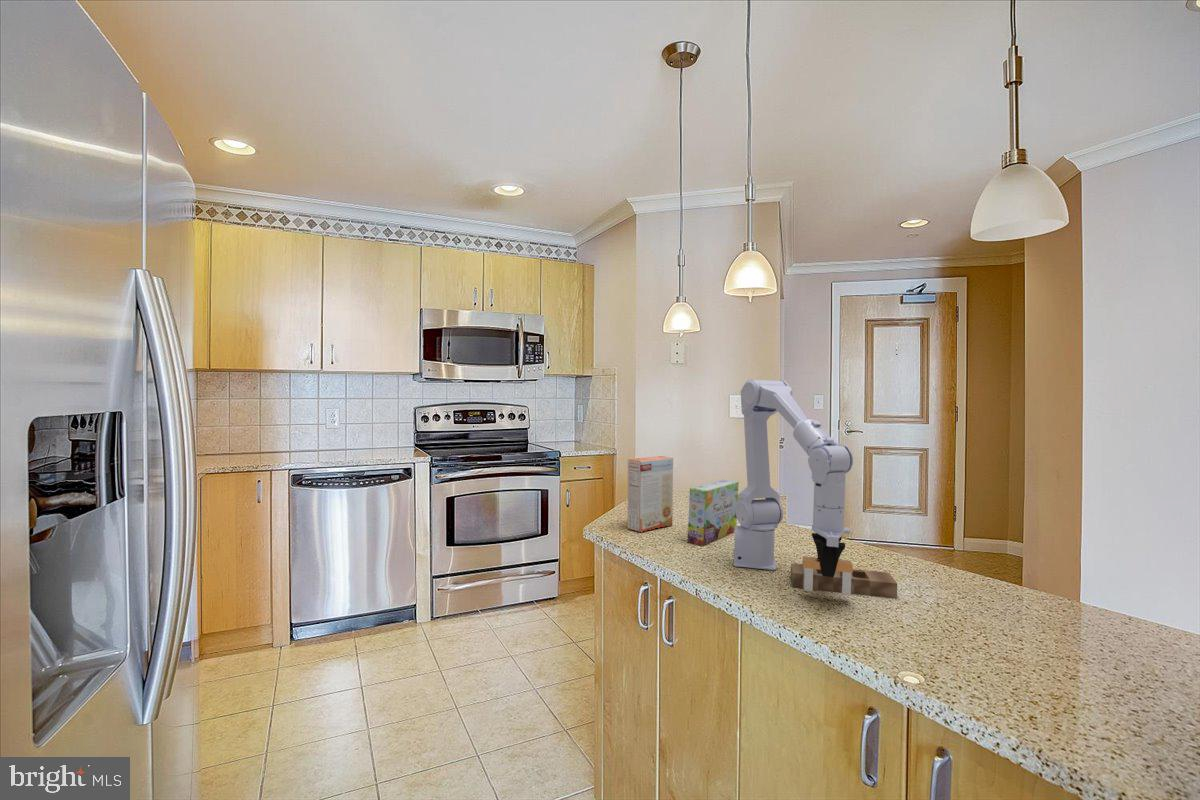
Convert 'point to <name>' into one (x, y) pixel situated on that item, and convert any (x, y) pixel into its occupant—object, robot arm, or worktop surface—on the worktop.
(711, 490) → the snack box
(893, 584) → the brown wooden peg board
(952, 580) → the worktop surface
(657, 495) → the cracker box
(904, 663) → the worktop surface
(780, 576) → the worktop surface
